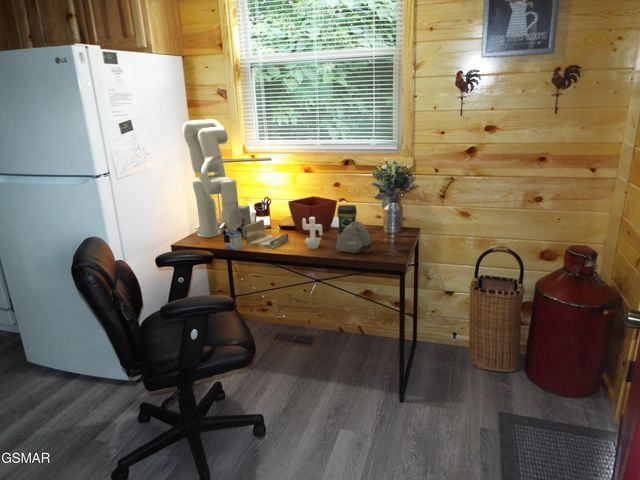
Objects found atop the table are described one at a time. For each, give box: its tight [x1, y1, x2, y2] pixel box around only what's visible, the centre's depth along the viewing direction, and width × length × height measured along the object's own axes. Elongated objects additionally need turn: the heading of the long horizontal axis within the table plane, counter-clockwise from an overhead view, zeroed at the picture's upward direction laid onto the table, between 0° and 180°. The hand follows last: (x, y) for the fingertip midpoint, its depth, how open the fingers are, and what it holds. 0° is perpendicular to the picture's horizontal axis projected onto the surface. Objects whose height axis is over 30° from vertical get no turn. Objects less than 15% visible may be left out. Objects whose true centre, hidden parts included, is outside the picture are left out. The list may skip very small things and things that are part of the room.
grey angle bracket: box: [245, 219, 289, 249], centre depth 234 cm, size 16×14×10 cm
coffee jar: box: [336, 204, 358, 238], centre depth 230 cm, size 10×8×19 cm
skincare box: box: [235, 205, 252, 239], centre depth 246 cm, size 8×7×16 cm
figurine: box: [302, 217, 324, 250], centre depth 223 cm, size 7×9×15 cm
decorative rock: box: [335, 220, 372, 254], centre depth 214 cm, size 16×7×15 cm, turn 74°
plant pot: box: [287, 195, 338, 236], centre depth 249 cm, size 19×19×17 cm
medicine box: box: [225, 229, 243, 252], centre depth 227 cm, size 8×4×9 cm, turn 46°
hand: (233, 240), depth 227 cm, fingers open, 9 cm apart
